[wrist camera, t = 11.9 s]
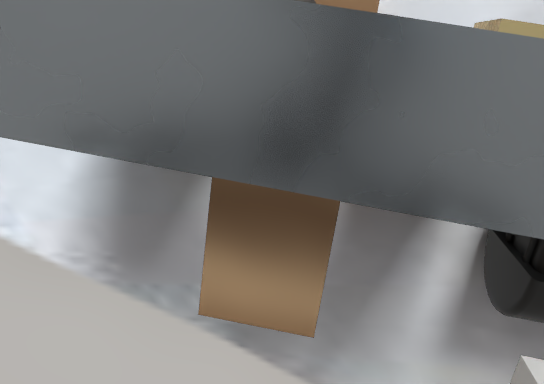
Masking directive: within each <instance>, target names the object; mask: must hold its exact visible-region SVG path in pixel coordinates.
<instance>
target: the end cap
mask: <svg viewBox="0 0 544 384" xmlns="http://www.w3.org/2000/svg"><path fill="white" fill-rule="evenodd" d="M484 274H485V283H486V289H487V292H488V296H489V298H490V300H491V302H492V304H493V306H494V307H495V308H496V309H497V310H498V311H499V312H500V313H502V314H503V315H506V316H511V317H516V318H521V319H527V320H532V321H537V322H542V323H544V239H539V238H534V237H528V236H523V235H518V234H512V233H507V232H502V231H496V230H491V229H490V230H489V233H488V237H487V242H486V248H485V257H484Z"/></svg>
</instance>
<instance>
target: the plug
mask: <svg viewBox="0 0 544 384" xmlns="http://www.w3.org/2000/svg"><path fill="white" fill-rule="evenodd" d="M295 1H302V2H308V3H315V4H321V5H328V6H334V7H341V8H347V9H354V10H361V11H367V12H374V13H377V11H378V5H379V0H295ZM339 205H340V201H337V200H332V199H326V198H321V197H316V196H310V195H305V194H300V193H295V192H289V191H284V190H279V189H273V188H268V187H263V186H257V185H252V184H247V183H241V182H236V181H231V180H225V179H220V178H215V177H212V183H211V193H210V203H209V213H208V223H207V233H206V244H205V254H204V264H203V274H202V284H201V294H200V304H199V314H198V315H203V316H208V317H213V318H218V319H223V320H228V321H233V322H238V323H243V324H248V325H253V326H258V327H263V328H268V329H273V330H278V331H283V332H288V333H293V334H298V335H303V336H308V337H313V338H314V333H315V328H316V323H317V318H318V313H319V308H320V303H321V298H322V292H323V287H324V282H325V277H326V272H327V267H328V262H329V257H330V251H331V246H332V241H333V236H334V231H335V226H336V221H337V216H338V210H339Z"/></svg>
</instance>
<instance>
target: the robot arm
mask: <svg viewBox="0 0 544 384" xmlns="http://www.w3.org/2000/svg"><path fill="white" fill-rule="evenodd" d="M510 384H544V360H541V359H537V358H532V357H527V356H522V355H521V356H520V359H519V361H518V364H517V366H516V369H515V372H514V374H513V377H512V379H511V382H510Z"/></svg>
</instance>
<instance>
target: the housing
mask: <svg viewBox="0 0 544 384" xmlns="http://www.w3.org/2000/svg"><path fill="white" fill-rule="evenodd" d="M0 137H2V138H8V139H13V140H18V141H24V142H29V143H34V144H39V145H45V146H50V147H55V148H61V149H66V150H71V151H77V152H82V153H87V154H93V155H98V156H103V157H109V158H114V159H119V160H124V161H130V162H135V163H140V164H146V165H151V166H156V167H162V168H167V169H172V170H178V171H183V172H188V173H194V174H199V175H204V176H210V177H215V178H220V179H225V180H231V181H236V182H241V183H247V184H252V185H257V186H263V187H268V188H273V189H279V190H284V191H289V192H295V193H300V194H305V195H310V196H316V197H321V198H326V199H332V200H337V201H342V202H348V203H353V204H358V205H364V206H369V207H374V208H380V209H385V210H390V211H395V212H401V213H406V214H411V215H417V216H422V217H427V218H433V219H438V220H443V221H449V222H454V223H459V224H465V225H470V226H475V227H480V228H486V229H491V230H496V231H502V232H507V233H512V234H518V235H523V236H528V237H534V238H539V239H544V25H540V24H534V23H527V22H521V21H514V20H507V19H497V20H490V21H484V22H478V23H475V24H474V28H471V27H465V26H458V25H452V24H445V23H439V22H432V21H426V20H419V19H413V18H406V17H400V16H393V15H387V14H380V13H374V12H367V11H361V10H354V9H347V8H341V7H334V6H328V5H321V4H315V3H308V2H302V1H295V0H0Z"/></svg>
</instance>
